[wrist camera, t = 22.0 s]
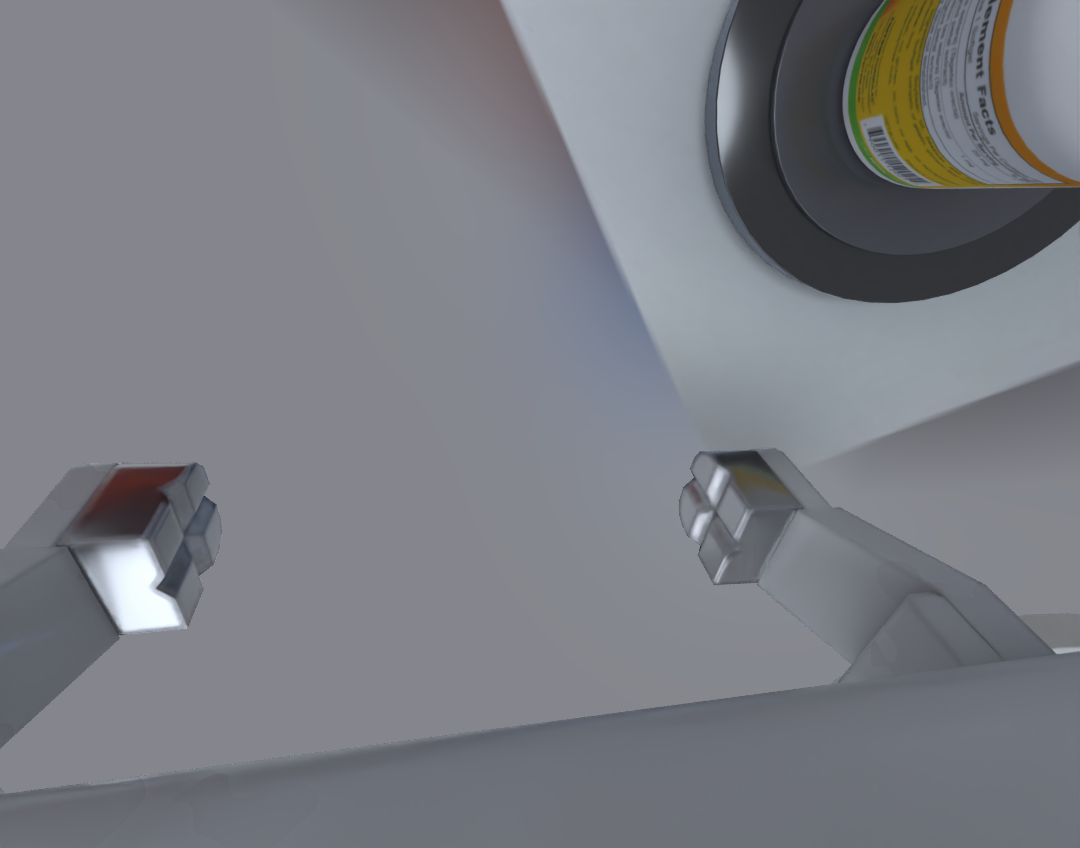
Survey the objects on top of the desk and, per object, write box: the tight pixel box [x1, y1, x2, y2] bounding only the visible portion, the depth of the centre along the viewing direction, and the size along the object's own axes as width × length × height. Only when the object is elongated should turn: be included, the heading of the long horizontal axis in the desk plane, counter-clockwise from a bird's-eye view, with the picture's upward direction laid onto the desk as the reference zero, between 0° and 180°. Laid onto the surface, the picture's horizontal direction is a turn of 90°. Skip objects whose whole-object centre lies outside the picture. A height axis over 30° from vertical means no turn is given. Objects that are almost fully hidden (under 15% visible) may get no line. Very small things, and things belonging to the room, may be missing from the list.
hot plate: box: [705, 0, 1080, 303], centre depth 15 cm, size 12×12×2 cm
